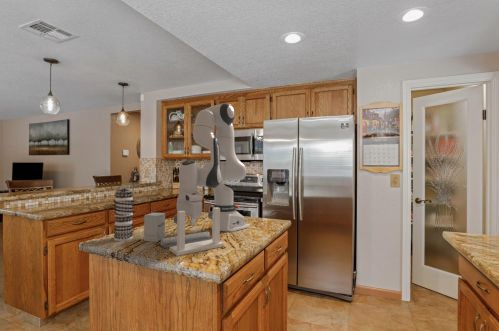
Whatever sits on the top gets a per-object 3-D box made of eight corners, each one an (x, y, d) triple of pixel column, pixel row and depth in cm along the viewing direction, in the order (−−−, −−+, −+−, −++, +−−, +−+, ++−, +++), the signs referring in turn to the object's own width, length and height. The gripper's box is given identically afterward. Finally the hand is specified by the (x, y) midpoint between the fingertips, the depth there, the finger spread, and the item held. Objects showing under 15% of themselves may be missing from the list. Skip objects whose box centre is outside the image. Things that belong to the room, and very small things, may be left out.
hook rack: (213, 241, 128) (214, 205, 128) (223, 246, 121) (223, 208, 121) (169, 250, 114) (170, 209, 114) (177, 255, 108) (178, 213, 108)
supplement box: (157, 242, 126) (157, 215, 126) (143, 241, 127) (143, 214, 127) (165, 238, 133) (165, 213, 133) (151, 236, 134) (152, 212, 134)
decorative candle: (120, 242, 124) (121, 189, 124) (109, 239, 129) (109, 188, 129) (137, 237, 132) (138, 188, 132) (126, 235, 137) (126, 187, 137)
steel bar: (207, 236, 135) (207, 231, 135) (209, 237, 133) (209, 232, 133) (160, 244, 120) (161, 238, 120) (162, 245, 118) (162, 239, 118)
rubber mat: (204, 236, 137) (204, 234, 137) (212, 240, 131) (212, 238, 131) (158, 244, 122) (158, 242, 122) (164, 248, 116) (164, 247, 116)
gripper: (173, 192, 133) (173, 219, 133) (191, 198, 117) (191, 229, 117) (185, 191, 137) (185, 218, 137) (204, 197, 121) (204, 227, 121)
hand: (188, 223), depth 127 cm, fingers open, 8 cm apart
